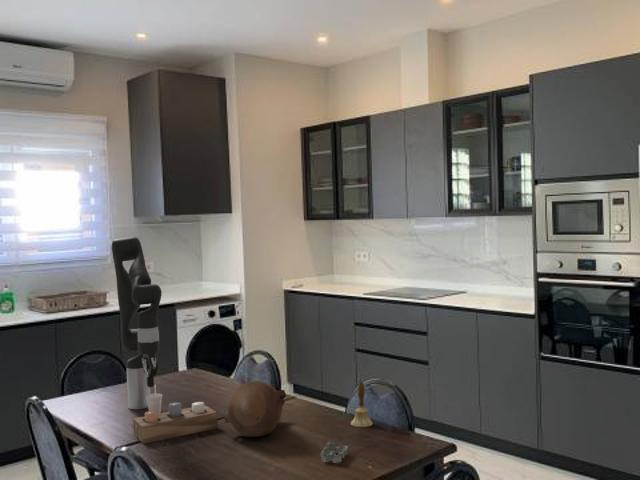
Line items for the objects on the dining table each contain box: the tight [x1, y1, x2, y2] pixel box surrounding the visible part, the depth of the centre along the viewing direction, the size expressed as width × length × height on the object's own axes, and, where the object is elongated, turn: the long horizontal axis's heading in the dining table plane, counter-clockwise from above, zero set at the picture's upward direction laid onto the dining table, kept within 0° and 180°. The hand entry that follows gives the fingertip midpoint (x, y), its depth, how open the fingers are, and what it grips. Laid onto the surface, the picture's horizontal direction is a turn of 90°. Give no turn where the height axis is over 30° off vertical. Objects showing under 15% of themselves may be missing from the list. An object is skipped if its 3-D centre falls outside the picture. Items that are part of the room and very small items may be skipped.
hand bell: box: [350, 381, 373, 428], centre depth 239 cm, size 8×8×16 cm
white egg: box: [191, 401, 205, 414], centre depth 242 cm, size 5×5×6 cm
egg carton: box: [319, 440, 348, 464], centre depth 206 cm, size 10×7×4 cm
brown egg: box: [144, 410, 158, 423], centre depth 233 cm, size 5×5×6 cm
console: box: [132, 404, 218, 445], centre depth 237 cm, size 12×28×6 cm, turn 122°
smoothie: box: [146, 383, 163, 414], centre depth 252 cm, size 6×6×14 cm
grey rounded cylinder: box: [168, 401, 183, 418], centre depth 237 cm, size 5×5×6 cm
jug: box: [223, 380, 287, 438], centre depth 235 cm, size 20×20×30 cm
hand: (150, 386), depth 232 cm, fingers closed
